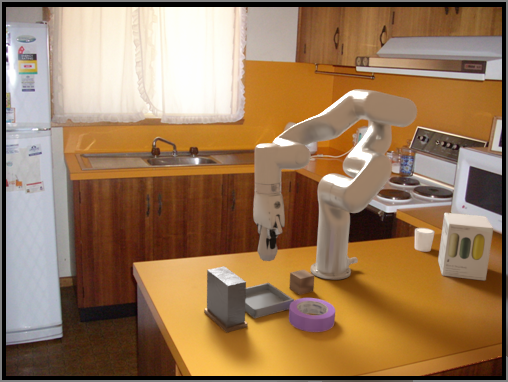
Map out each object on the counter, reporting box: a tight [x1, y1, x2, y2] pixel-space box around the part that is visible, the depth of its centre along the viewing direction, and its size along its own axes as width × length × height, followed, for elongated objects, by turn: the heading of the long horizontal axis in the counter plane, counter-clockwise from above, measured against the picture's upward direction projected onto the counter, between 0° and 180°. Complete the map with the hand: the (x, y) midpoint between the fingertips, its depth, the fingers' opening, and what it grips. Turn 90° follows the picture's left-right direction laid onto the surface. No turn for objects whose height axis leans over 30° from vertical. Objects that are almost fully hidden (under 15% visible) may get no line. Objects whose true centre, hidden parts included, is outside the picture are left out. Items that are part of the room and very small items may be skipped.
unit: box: [203, 266, 249, 333], centre depth 131 cm, size 6×12×12 cm, turn 32°
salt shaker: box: [257, 222, 278, 262], centre depth 151 cm, size 6×6×13 cm
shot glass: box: [414, 227, 436, 253], centre depth 187 cm, size 7×7×7 cm
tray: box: [245, 282, 295, 319], centre depth 142 cm, size 12×12×2 cm
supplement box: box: [437, 212, 494, 281], centre depth 167 cm, size 13×13×18 cm
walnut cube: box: [289, 269, 315, 296], centre depth 151 cm, size 5×5×5 cm
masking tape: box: [288, 297, 336, 333], centre depth 133 cm, size 12×12×4 cm
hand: (267, 247), depth 152 cm, fingers closed on salt shaker, 3 cm apart
